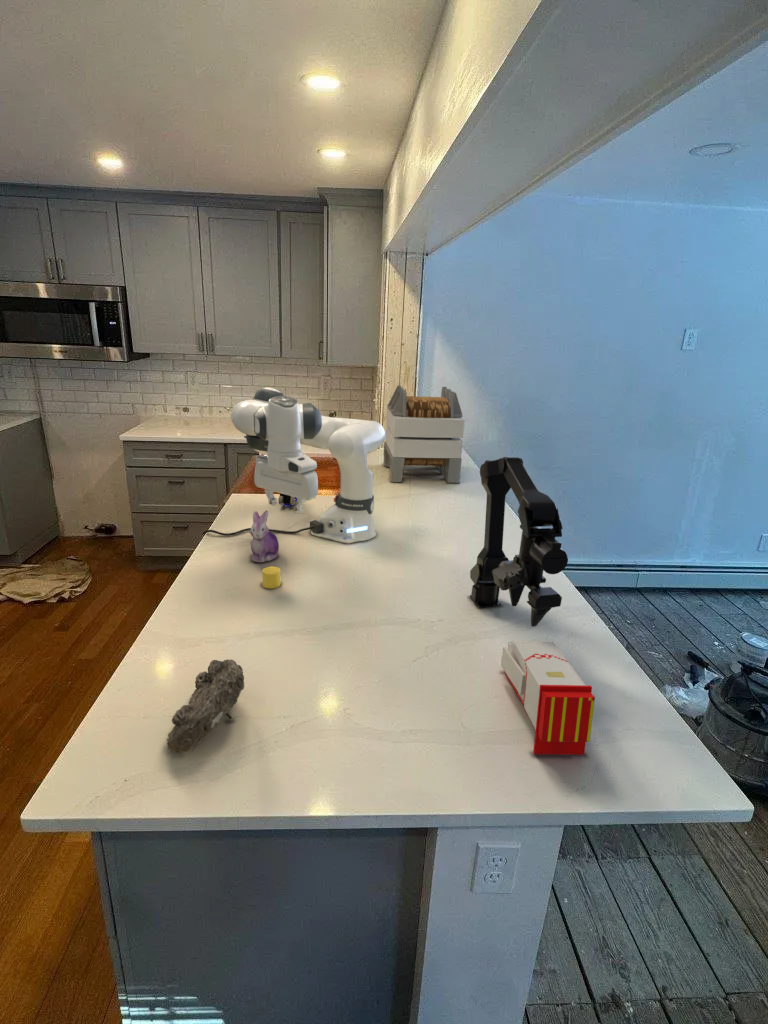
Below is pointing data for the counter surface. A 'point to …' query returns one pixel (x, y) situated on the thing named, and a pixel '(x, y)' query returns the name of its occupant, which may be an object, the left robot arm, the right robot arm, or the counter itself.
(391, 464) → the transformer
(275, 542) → the figurine
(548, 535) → the right robot arm
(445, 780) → the counter surface
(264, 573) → the yellow cylinder
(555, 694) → the toy
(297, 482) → the left robot arm
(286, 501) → the black toy vehicle
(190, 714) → the fossil
